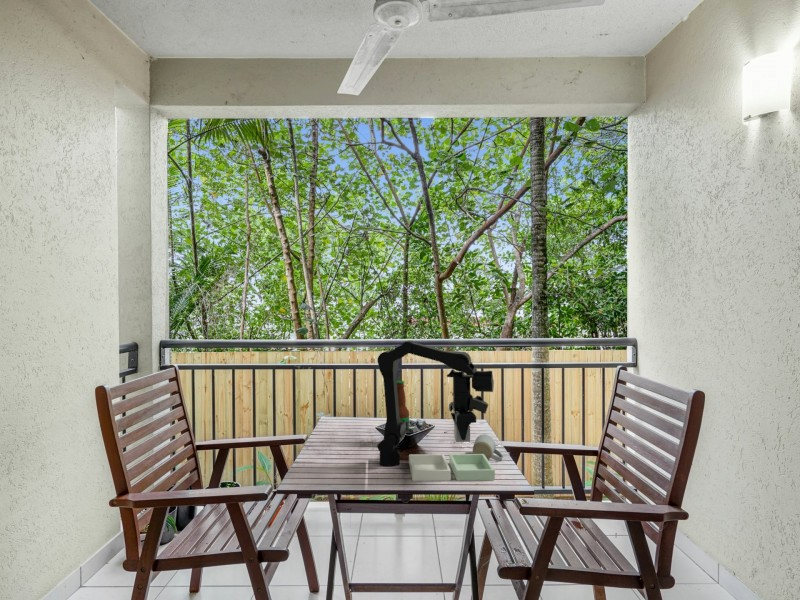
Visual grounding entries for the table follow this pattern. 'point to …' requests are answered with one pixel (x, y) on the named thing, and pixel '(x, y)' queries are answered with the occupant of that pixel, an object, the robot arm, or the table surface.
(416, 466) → the cream bin
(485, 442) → the ceramic mug
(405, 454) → the table surface
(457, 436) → the stone block
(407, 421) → the bottle
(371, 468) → the table surface
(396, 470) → the table surface
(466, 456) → the green bin
